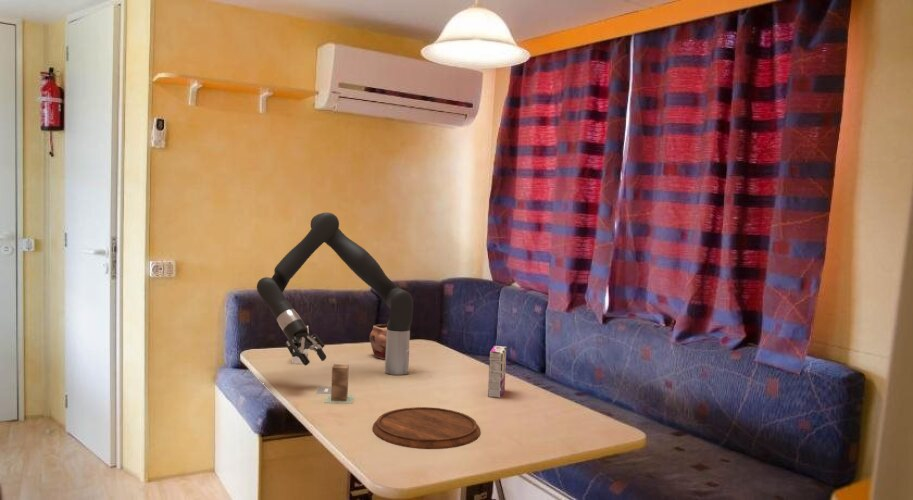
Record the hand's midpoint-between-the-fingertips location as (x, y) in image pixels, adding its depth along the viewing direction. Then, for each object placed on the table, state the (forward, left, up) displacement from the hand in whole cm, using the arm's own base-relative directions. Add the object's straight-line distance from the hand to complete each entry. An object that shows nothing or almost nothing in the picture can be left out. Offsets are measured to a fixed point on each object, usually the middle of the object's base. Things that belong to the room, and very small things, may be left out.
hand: (316, 361), depth 224 cm
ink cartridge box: (+12, -45, -11) cm, 48 cm away
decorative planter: (-22, -59, -11) cm, 64 cm away
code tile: (-5, -2, -11) cm, 12 cm away
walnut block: (-9, +8, -10) cm, 16 cm away
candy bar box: (-64, -4, -11) cm, 65 cm away
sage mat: (-9, +8, -11) cm, 16 cm away
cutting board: (-37, +36, -12) cm, 53 cm away
